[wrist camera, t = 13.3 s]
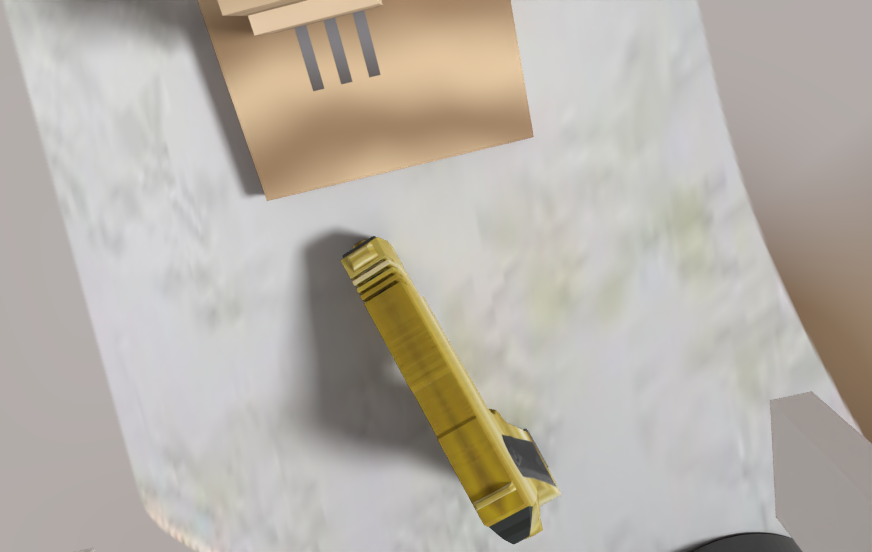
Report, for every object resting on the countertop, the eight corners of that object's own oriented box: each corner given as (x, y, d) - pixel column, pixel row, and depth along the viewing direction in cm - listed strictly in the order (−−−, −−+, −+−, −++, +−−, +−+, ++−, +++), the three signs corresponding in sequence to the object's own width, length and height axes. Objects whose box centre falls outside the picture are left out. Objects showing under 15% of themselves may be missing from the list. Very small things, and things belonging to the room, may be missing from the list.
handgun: (531, 507, 43) (508, 575, 31) (398, 270, 46) (333, 253, 35) (562, 490, 42) (551, 553, 31) (426, 252, 46) (370, 229, 34)
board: (528, 132, 35) (533, 136, 34) (272, 193, 36) (267, 201, 35) (470, -206, 29) (473, -217, 28) (163, -124, 30) (151, -131, 29)
